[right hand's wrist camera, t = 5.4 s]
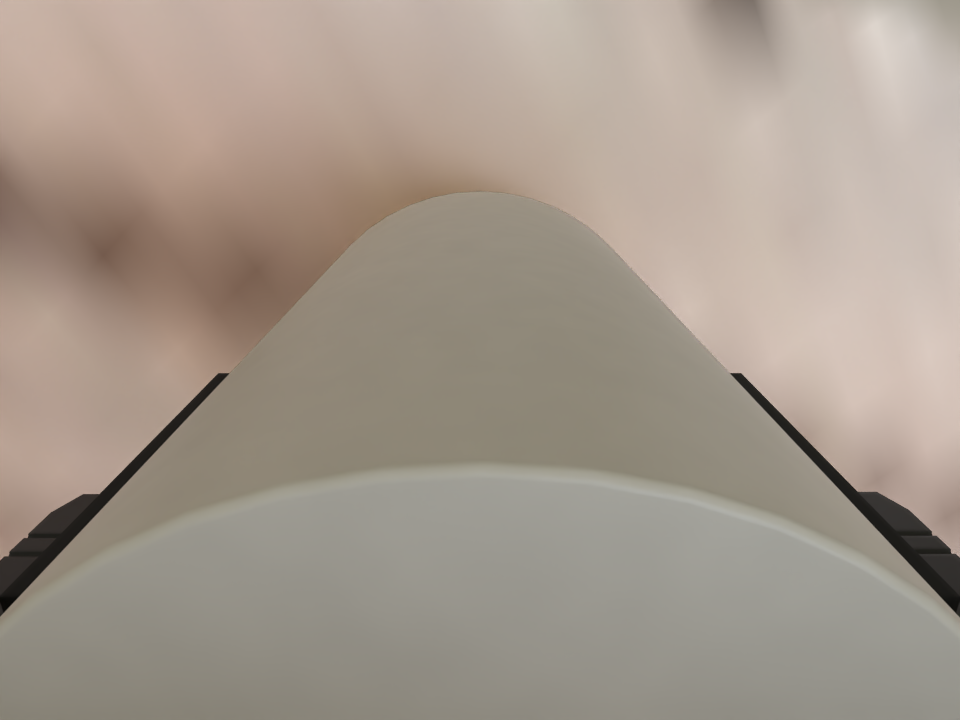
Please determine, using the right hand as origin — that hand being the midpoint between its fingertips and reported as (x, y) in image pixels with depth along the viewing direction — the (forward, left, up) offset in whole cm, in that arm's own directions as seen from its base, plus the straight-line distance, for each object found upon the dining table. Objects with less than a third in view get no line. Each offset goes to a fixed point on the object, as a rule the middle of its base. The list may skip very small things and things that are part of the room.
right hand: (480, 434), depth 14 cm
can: (0, 0, -4) cm, 4 cm away
